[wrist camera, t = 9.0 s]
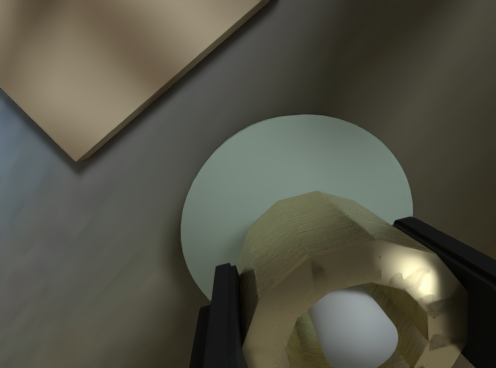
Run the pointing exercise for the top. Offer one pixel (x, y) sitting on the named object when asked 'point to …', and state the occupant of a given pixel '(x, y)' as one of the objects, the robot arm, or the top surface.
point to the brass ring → (343, 284)
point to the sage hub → (289, 185)
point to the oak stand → (104, 58)
